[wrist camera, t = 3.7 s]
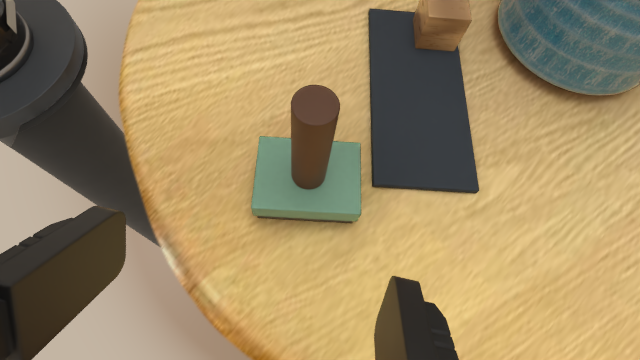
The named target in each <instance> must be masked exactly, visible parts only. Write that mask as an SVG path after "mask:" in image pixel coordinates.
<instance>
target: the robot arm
mask: <svg viewBox="0 0 640 360" xmlns="http://www.w3.org/2000/svg"><path fill="white" fill-rule="evenodd" d="M33 42H34V37H33V32H32V30H31V28H30V26H29V25H28V23H27V22H26V21H25V20H24V19H23V17H22V16H21V15H20V14H19V13H18V12H16V11H15V2H14V1H13V0H0V82H2V81H4V80H6V79H7V78H9V77H10V76H12V75H13V74H14V73H15V72H16V71H18V70H19V69H20V68H21V67H22V66H23V64H24V63H25V62H26V60H27V59H28V57H29V55H30V54H31V51H32V48H33ZM125 253H126V218H125V214H124V213H123V212H121V211H117V210H113V209H109V208H104V207H100V206H93V207H91V208H89V209H88V210H86V211H85V212H83V213H81V214H80V215H78V216H77V217H75V218H69V219H66V220H63V221H60V222H57V223H54V224H51V225H49V226H47V227H45V228H44V229H42V230H40V231H39V232H37V233H35V234H34V235H33V237H28V238H27V239H25V240H23V241H22V242H20V243H19V245H18V246H17V245H15V246H13V247H12V248H10V249H8V250H7V251H5V252H3V253H1V254H0V360H31V359H32V358H34V357H35V355H37V354H38V353H39V352H40V351H41V350H42V349H43V348H44V347H45V346H46V345H47V344H48V343H49V342H50V341H51V340H52V339H53V338H54V337H55V336H56V335H57V334H58V333H59V332H60V331H61V330H62V329H63V328H64V327H65V326H66V325H68V323H70V322H71V321H72V320H73V319H74V318H75V317H76V316H77V314H79V313H80V312H81V311H82V310H83V309H84V308H85V307H86V306H87V305H88V304H89V303H90V302H91V301H92V300H93V299H94V298H95V297H96V296H97V295H98V294H99V293H100V292H101V291H103V290H104V289H105V288H106V286H108V285H109V284H110V283H111V282H112V281H113V280H114V279H115V278H116V277H117V276H118V274H119V273H120V271H121V269H122V267H123V265H124V262H125V256H126V254H125ZM450 335H451V334H450V330H449V327H448V324H447V321H446V318H445V317H444V316H443V314H442V313H441V312H440V310H439V309H438V308H437V306H436V305H435V304H433V303H429V302H425V301H424V299H423V295H422V291H421V287H420V283H419V282H418V281H413V280H409V279H405V278H401V277H396V276H392V277H391V279H390V281H389V284H388V287H387V290H386V293H385V296H384V299H383V302H382V305H381V308H380V311H379V314H378V317H377V321H376V326H375V334H374V343H375V360H459V359H458V356H457V353H456V351H455V350H454V348H455V346H454V343H453V340H452V337H450Z"/></svg>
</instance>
